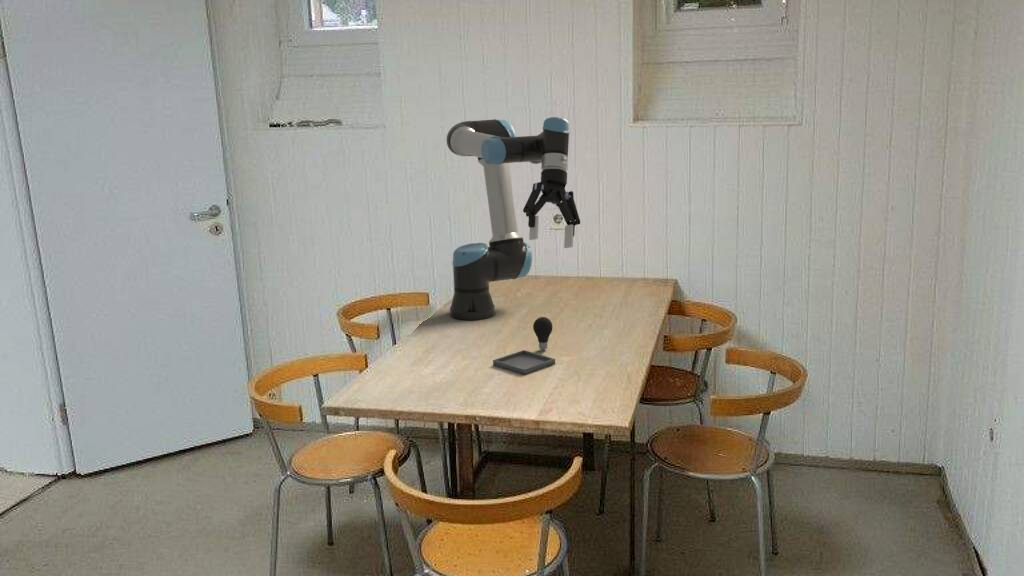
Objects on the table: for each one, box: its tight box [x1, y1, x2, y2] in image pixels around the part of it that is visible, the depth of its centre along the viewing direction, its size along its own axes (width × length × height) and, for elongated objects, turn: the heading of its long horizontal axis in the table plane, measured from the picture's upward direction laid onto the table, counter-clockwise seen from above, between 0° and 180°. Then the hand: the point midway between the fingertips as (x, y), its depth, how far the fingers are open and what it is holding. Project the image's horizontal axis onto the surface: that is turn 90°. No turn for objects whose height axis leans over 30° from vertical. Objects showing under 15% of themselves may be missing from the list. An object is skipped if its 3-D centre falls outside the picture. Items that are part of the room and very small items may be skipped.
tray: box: [492, 349, 556, 376], centre depth 252 cm, size 12×12×2 cm
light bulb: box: [532, 316, 553, 352], centre depth 264 cm, size 6×6×10 cm
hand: (551, 243), depth 258 cm, fingers open, 13 cm apart
